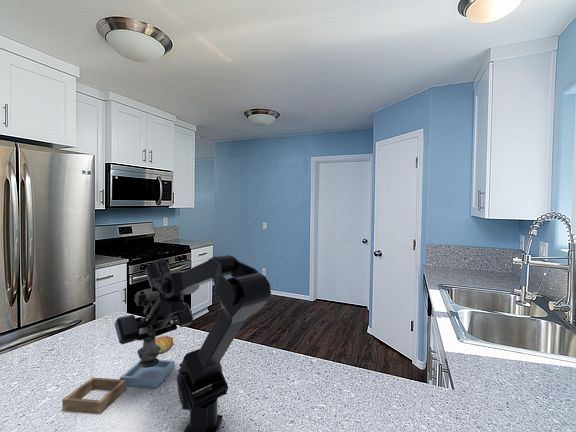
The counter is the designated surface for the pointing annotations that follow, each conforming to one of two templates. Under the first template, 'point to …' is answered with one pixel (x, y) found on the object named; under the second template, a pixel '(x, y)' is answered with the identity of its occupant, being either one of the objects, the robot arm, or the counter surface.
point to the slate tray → (148, 374)
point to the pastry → (164, 343)
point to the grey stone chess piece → (149, 351)
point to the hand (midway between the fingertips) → (147, 337)
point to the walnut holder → (94, 406)
